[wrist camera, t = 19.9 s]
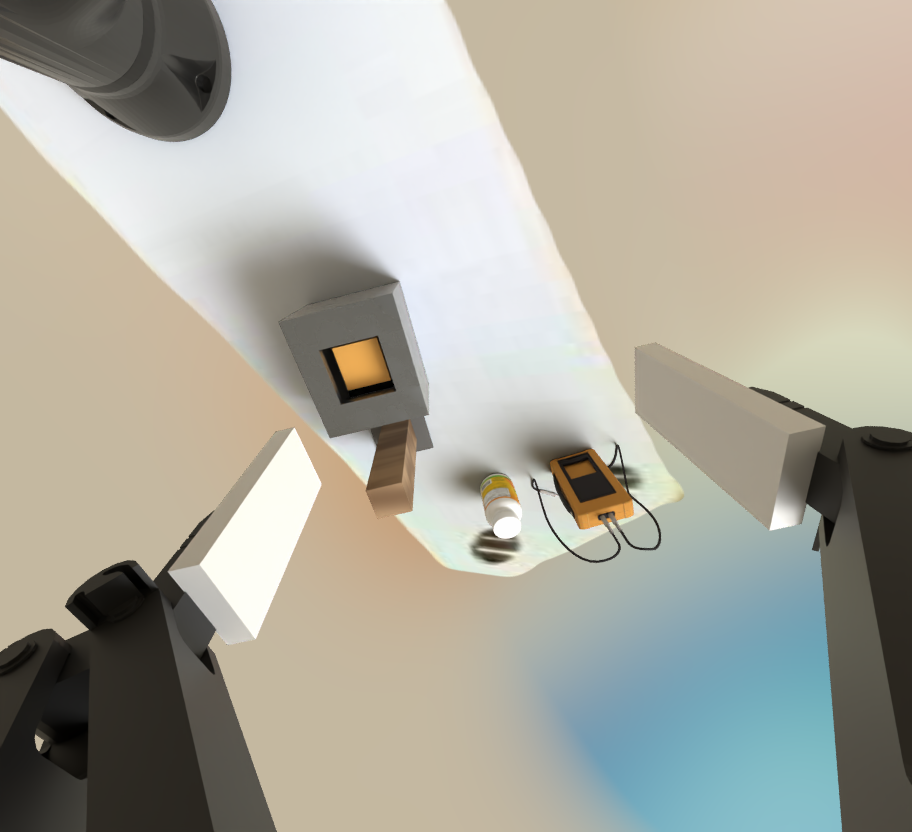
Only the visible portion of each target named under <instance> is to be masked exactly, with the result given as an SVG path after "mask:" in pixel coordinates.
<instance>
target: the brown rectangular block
mask: <svg viewBox="0 0 912 832" xmlns="http://www.w3.org/2000/svg"><path fill="white" fill-rule="evenodd" d="M416 444H417V439H416V436H415V433H414V430H413V427H412V424H411V420H410V419H409V420H404V421H400V422H396V423H392V424H388V425H383V426H382V427H381V431H380V435H379V439H378V443H377V447H376V452H375V456H374V460H373V464H372V468H371V472H370V476H369V480H368V484H367V488H366V492H367V495H368V497H369V500H370V502H371V504H372V507H373V509H374V511H375V514H376V516H377V518H378V519H380V518H384V517H388V516H393V515H397V514H402V513H406V512H410V511H412V509H413V493H414V477H415V460H416Z"/></svg>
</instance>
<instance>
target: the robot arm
mask: <svg viewBox="0 0 912 832" xmlns="http://www.w3.org/2000/svg"><path fill="white" fill-rule="evenodd" d="M0 58H2V59H4V60H7V61H9V62H12V63H14V64H17V65H20V66H22V67H25V68H27V69H30V70H32V71H35V72H38V73H40V74H43V75H45V76H48V77H50V78H53V79H56V80H58V81H61V82H63V83H66V84H67V85H68V86H69V87H70V88H72V89H73V90H74V91H75V92H76V93H77V94H79V95H80V96H81V97H82V98H84V99H85V100H86V101H87V102H88V103H89V104H90V105H91V106H92V107H94V108H95V109H96V110H97V111H98V112H100V113H101V114H102V115H104V116H105V117H107V118H108V119H109V120H111V121H113V122H114V123H116V124H118V125H120V126H122V127H123V128H125V129H128V130H130V131H132V132H135V133H138V134H140V135H143V136H146V137H149V138H152V139H156V140H161V141H167V142H180V141H186V140H190V139H193V138H196V137H198V136H200V135H202V134H203V133H205V132H206V131H208V130H209V129H210V128H211V127H212V126H213V125H214V124H215V123H216V121H217V120H218V119H219V117H220V115H221V114H222V112H223V110H224V108H225V105H226V103H227V99H228V96H229V91H230V84H231V60H230V52H229V47H228V42H227V38H226V35H225V31H224V28H223V25H222V23H221V20H220V18H219V15H218V13H217V11H216V9H215V7H214V5H213V3H212V1H211V0H0ZM635 413H636V414H638V415H639V416H640V417H641V418H642V419H643V420H644V421H646V422H647V423H648V424H649V425H650V426H651V427H652V428H653V429H655V430H656V431H657V432H658V433H659V434H660V435H662V436H663V437H664V438H665V439H666V440H667V441H668V442H670V443H671V444H672V445H673V446H674V447H675V448H676V449H678V450H679V451H680V452H681V453H682V454H683V455H684V456H686V457H687V458H688V459H689V460H690V461H691V462H692V463H693V464H695V465H696V466H697V467H698V468H699V469H700V470H701V471H703V472H704V473H705V474H706V475H707V476H708V477H709V478H710V479H712V480H713V481H714V482H715V483H716V484H717V485H719V486H720V487H721V488H722V489H723V490H724V491H725V492H726V493H728V494H729V495H730V496H731V497H732V498H733V499H734V500H736V501H737V502H738V503H739V504H740V505H741V506H742V507H744V508H745V509H746V510H747V511H748V512H749V513H751V514H752V515H753V516H754V517H755V518H756V519H758V521H760V522H761V523H762V524H763V525H764V526H765V527H766V528H768V529H769V530H774V529H779V528H784V527H789V526H793V525H798V524H801V523H802V520H803V516H804V512H805V508H806V504H808V505H809V506H811V507H812V508H814V509H815V510H816V511H818V512H819V513H821V514H822V516H821V520H820V523H819V526H818V530H817V534H816V537H815V541H814V544H813V548H812V550H814V551H819V549H820V553H821V566H822V577H823V591H824V604H825V617H826V629H827V642H828V654H829V668H830V681H831V693H832V706H833V719H834V732H835V745H836V756H837V770H838V783H839V795H840V808H841V820H842V832H912V433H911V432H908V431H904V430H901V429H895V428H888V427H877V426H876V427H875V426H874V427H873V426H865V427H858V428H853V429H852V428H850V427H847V426H846V425H843V424H841V423H839V422H837V421H835V420H833V419H830V418H828V417H826V416H824V415H822V414H820V413H818V412H816V411H813V410H811V409H809V408H804V406H803V405H800V404H798V403H796V402H794V401H792V402H791V401H790V400H789V399H788V398H785V397H783V396H781V395H779V394H777V393H774V392H771V391H768V390H763V389H759V388H755V387H749V388H747V387H745V386H743V385H741V384H739V383H737V382H735V381H733V380H731V379H729V378H727V377H725V376H723V375H721V374H719V373H717V372H715V371H713V370H710V369H708V368H707V367H704V366H702V365H700V364H698V363H696V362H694V361H692V360H690V359H688V358H686V357H684V356H682V355H680V354H678V353H676V352H674V351H672V350H670V349H668V348H665V347H664V346H662V345H660V344H657V343H651V344H647V345H643V346H638V347H635ZM321 485H322V484H321V482H320V480H319V478H318V475H317V473H316V471H315V470H314V467H313V465H312V463H311V461H310V459H309V457H308V454H307V453H306V450H305V448H304V446H303V444H302V442H301V440H300V438H299V436H298V434H297V431H296V429H295V428H294V427H293V428H289V429H285V430H281V431H276V432H275V433H274V434H273V436H272V437H271V438H270V440H269V441H268V442H267V443H266V445H265V446H264V447H263V448H262V450H261V451H260V452H259V454H258V455H257V456H256V458H255V459H254V460H253V462H252V463H251V464H250V465H249V467H248V468H247V469H246V471H245V472H244V473H243V474H242V476H241V477H240V478H239V480H238V481H237V482H236V484H235V485H234V486H233V487H232V489H231V490H230V491H229V493H228V494H227V495H226V497H225V498H224V499H223V500H222V502H221V503H220V504H219V506H218V507H217V508H216V510H214V511H213V512H212V513H210V514H209V515H208V516H207V517H206V518H205V519H203V520H202V521H201V522H200V523H199V524H198V525H197V527H196V528H195V529H194V530H193V532H192V533H191V534H190V535H189V538H188V539H186V540H185V542H184V543H183V544H182V545H181V547H180V550H177V552H176V553H175V554H174V555H173V557H172V558H171V559H170V561H169V562H168V563H167V564H166V566H165V567H164V568H163V569H162V571H161V572H160V573H159V575H158V576H157V577H156V578H155V580H154V581H152V580H151V578H150V577H149V576H148V575H147V574H146V573H145V571H144V570H143V569H142V568H141V567H140V566H139V564H138V563H137V562H136V561H130V560H127V561H124V562H121V563H117V564H115V565H112V566H110V567H108V568H106V569H104V570H102V571H101V572H99V573H98V574H96V575H94V576H93V577H91V578H90V579H89V580H87V581H86V582H85V583H84V584H82V585H81V586H80V587H79V588H78V589H77V590H76V591H75V592H74V593H73V594H72V595H71V596H70V597H69V599H68V601H67V603H66V605H65V607H66V608H67V609H68V610H69V611H70V612H71V613H72V614H73V615H74V616H75V617H76V618H77V619H78V620H80V622H82V623H83V624H84V625H85V626H86V627H87V628H88V629H89V630H88V631H86V632H83V633H81V634H79V635H77V636H74V637H72V638H70V639H68V640H64V639H63V638H62V637H61V636H60V635H58V634H57V633H56V632H55V631H54V630H53V629H43V630H40V631H37V632H35V633H32V634H30V635H28V636H26V637H25V638H23V639H21V640H19V641H16V642H14V643H13V644H11V645H10V646H8V648H7V649H6V648H5V649H4V650H3V651H1V652H0V832H277V831H276V828H275V825H274V822H273V820H272V817H271V814H270V811H269V808H268V805H267V803H266V800H265V797H264V794H263V791H262V788H261V785H260V782H259V779H258V777H257V774H256V771H255V768H254V765H253V762H252V760H251V756H250V754H249V751H248V748H247V745H246V742H245V739H244V736H243V733H242V730H241V728H240V725H239V722H238V719H237V716H236V714H235V711H234V707H233V705H232V702H231V699H230V696H229V693H228V690H227V687H226V685H225V682H224V679H223V676H222V673H221V670H220V667H219V664H218V661H217V659H216V656H215V654H214V652H213V651H212V650H211V649H210V648H209V646H208V644H209V642H210V640H211V638H212V637H213V635H214V633H215V631H216V632H217V633H218V634H219V635H220V637H221V638H222V639H223V640H224V642H225V643H226V644H227V645H230V644H235V643H240V642H244V641H249V640H254V639H256V637H257V635H258V632H259V630H260V628H261V625H262V623H263V620H264V618H265V616H266V613H267V611H268V609H269V606H270V604H271V602H272V599H273V597H274V594H275V592H276V590H277V588H278V585H279V583H280V580H281V578H282V576H283V574H284V571H285V569H286V566H287V564H288V562H289V560H290V557H291V555H292V552H293V550H294V548H295V545H296V543H297V541H298V538H299V536H300V533H301V531H302V529H303V527H304V524H305V522H306V520H307V517H308V515H309V512H310V510H311V508H312V506H313V503H314V501H315V499H316V496H317V494H318V491H319V489H320V487H321ZM35 734H36V735H37V736H38V737H40V738H41V739H43V740H44V742H43V744H42V747H41V749H40V751H38V750H37V749H36V744H35V739H34V738H35Z"/></svg>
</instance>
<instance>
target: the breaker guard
mask: <svg viewBox="0 0 912 832" xmlns="http://www.w3.org/2000/svg"><path fill="white" fill-rule="evenodd" d="M279 324H280V327H281V329H282V331H283V333H284V336H285V338H286V340H287V342H288V345H289V347H290V349H291V351H292V354H293V356H294V358H295V360H296V363H297V365H298V367H299V369H300V372H301V374H302V376H303V378H304V381H305V383H306V385H307V387H308V390H309V392H310V394H311V396H312V399H313V401H314V403H315V405H316V408H317V410H318V412H319V414H320V417H321V419H322V421H323V423H324V426H325V428H326V430H327V432H328V435H329V437H330V438H333V437H337V436H342V435H346V434H350V433H354V432H358V431H363V430H367V429H371V428H375V427H379V426H383V425H388V424H392V423H396V422H400V421H404V420H409V419H413V418H417V417H421V416H425V415H429V383H428V379H427V376H426V372H425V369H424V365H423V362H422V358H421V355H420V351H419V348H418V344H417V341H416V337H415V334H414V330H413V327H412V323H411V320H410V316H409V313H408V309H407V306H406V302H405V299H404V295H403V292H402V288H401V285H400V281H399V282H395V283H391V284H387V285H383V286H379V287H375V288H371V289H368V290H364V291H360V292H356V293H352V294H348V295H344V296H340V297H336V298H332V299H329V300H325V301H321V302H317V303H313V304H309V305H306V306H305V307H303V308H301V309H300V310H298V311H296V312H294V313H293V314H291V315H289V316H288V317H286V318H284V319H283V320H281V321H279ZM374 336H378V337H379V340H380V343H381V346H382V349H383V353H384V356H385V359H386V362H387V365H388V368H389V371H390V374H391V377H392V380H393V383H394V386H395V387H390V388H386V389H382V390H378V391H374V392H370V393H366V394H362V395H358V396H354V397H350V395H349V393H348V390H347V388H346V385H345V383H344V380H343V378H342V375H341V373H340V370H339V367H338V365H337V362H336V360H335V357H334V355H333V352H332V350H331V347H334V346H338V345H342V344H346V343H350V342H354V341H358V340H362V339H366V338H370V337H374Z"/></svg>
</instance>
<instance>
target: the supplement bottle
mask: <svg viewBox="0 0 912 832" xmlns="http://www.w3.org/2000/svg"><path fill="white" fill-rule="evenodd" d="M480 491H481V497H482V501H483V506H484V511H485V516H486V519H487V522H488V523H489V524H490V525H491V526H492V527H493V531H494V533H495V534H496V535H497V536H498V537H500V538H511V537H514V536H516V535H517V534H518V533H519V532H520V529H521V522H520V519H521V515H522V510H521V506H520V503H519V500H518V497H517V494H516V491H515V488H514V486H513V483H512V481H511V479H510V478H509V477H508V476H506V475H504V474H492V475H489V476H488V477H486V478H485V479H484V480H483V481H482V483H481V486H480Z"/></svg>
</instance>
